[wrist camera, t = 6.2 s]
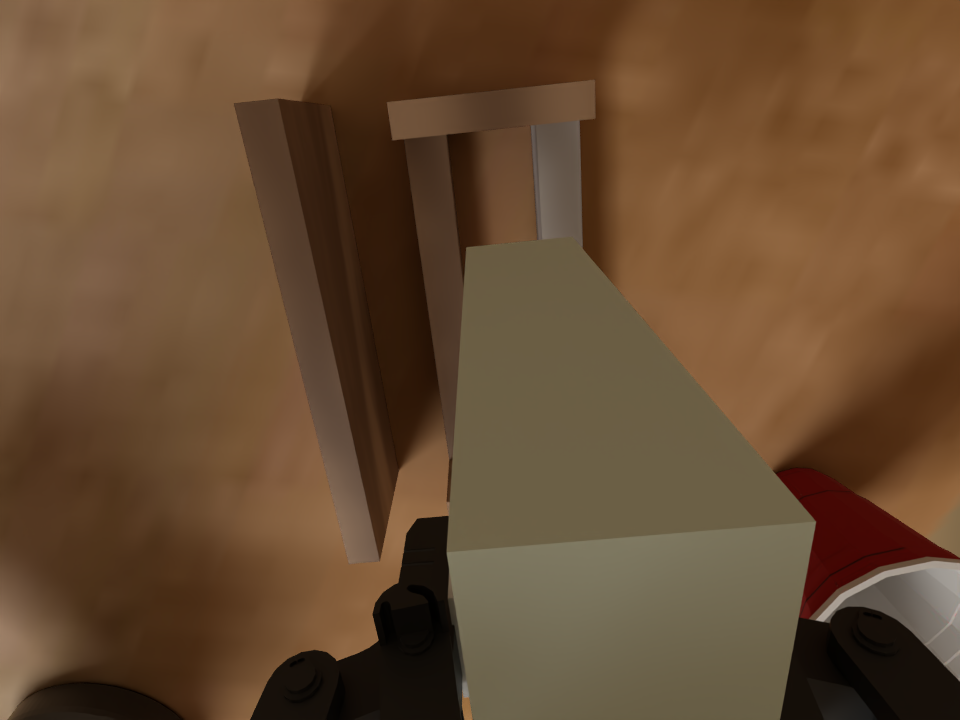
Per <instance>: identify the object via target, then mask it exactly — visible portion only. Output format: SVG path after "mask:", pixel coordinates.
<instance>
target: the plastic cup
mask: <svg viewBox="0 0 960 720" xmlns="http://www.w3.org/2000/svg"><path fill="white" fill-rule="evenodd" d="M776 475H777V476H778V478H779V479H780V480H781V481H782V482H783V483H784V485H785V486H786V487H787V488H788V489H789V490H790V492H791V493H792V494H793V495H794V496H795V497H796V499H797V500H798V501H799V502H800V503H801V504H802V506H803V507H804V508H805V509H806V510H807V511H808V513H809V514H810V515H811V516H812V517H813V518H814V520H815V521H816V525H815V531H814V536H813V542H812V547H811V553H810V558H809V564H808V569H807V574H806V580H805V585H804V591H803V596H802V602H801V607H800V613H799V617H800V618H806V619H811V620H817V621H822V622H827V623H830V620H831V618H832V616H833V615H834V614H835V612H836V611H837V610H840V609H842V608H845V607H848V606H852V607H866V608H870V609H874V610H878V611H881V612H883V613H885V614H887V615H889V616H891V617H893V618H895V619H897V620H898V621H899V622H900V623H902V624H903V625H904V626H905V627H907V628H908V629H909V630H910V631H911V632H912V633H913V634H914V635H915V636H916V637H917V638H918V639H919V640H920V641H921V642H922V643H923V644H924V645H925V646H926V647H927V648H928V649H929V650H930V651H931V652H932V653H933V654H934V655H935V656H936V657H937V658H938V659H939V660H940V661H941V662H942V663H943V665H944V666H945V667H946V668H947V669H948V670H949V671H950V672H951V673H952V674H953V675H954V676H955V677H956V678H957V679H958V680H959V681H960V558H959V557H957V556H956V555H954V554H952V553H951V552H949V551H947V550H945V549H942V548H941V547H939V546H937V545H936V544H934V543H933V542H931V541H930V540H928V539H927V538H925V537H924V536H922V535H921V534H919V533H918V532H916V531H914V530H913V529H911V528H910V527H908V526H907V525H905V524H904V523H902V522H901V521H899V520H898V519H896V518H895V517H893V516H892V515H890V514H889V513H887V512H886V511H884V510H882V509H881V508H879V507H878V506H876V505H875V504H873V503H872V502H870V501H869V500H867V499H865V498H863V497H861V496H859V495H857V494H855V493H854V492H852V491H851V490H849V489H848V488H846V487H845V486H843V485H842V484H841V483H839V482H838V481H836V480H835V479H833V478H831V477H829V476H827V475H825V474H822V473H820V472H818V471H816V470H813V469H807V468H793V469H789V470H786V471H782V472H778V473H777V474H776Z"/></svg>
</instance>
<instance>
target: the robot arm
mask: <svg viewBox="0 0 960 720" xmlns="http://www.w3.org/2000/svg"><path fill="white" fill-rule="evenodd" d="M448 522H449V516H442V517H430V518H419V519H417V520H416V521H415V523H414V524H413V525H412V527H411V528H410V530H409V531H408V532H407V535H406V541H405V547H404V553H403V559H402V567H401V571H400V577H399V583H398V584H395V585H393V586H392V587H390V588H389V589H387V590H386V591H385V592H383V593H382V595H381V596H380V597H379V599H378V600H377V602H376V603H375V607H374V611H373V618H374V622H375V626H376V631H377V635H378V639H379V641H378V642H376V643H375V644H374V645H372V646H371V647H370V648H368V649H366V650H364V651H362V652H360V653H357V654H355V655H352V656H349V657H347V658H344V659H341V660H339V661H336V659H335V658H334V657H332V656H331V655H330V654H329V653H327V652H323V651H318V650H312V651H306V652H301V653H299V654H297V655H295V656H293V657H291V658H289V659H287V660H286V661H285V662H284V663H283V664H281V665H280V666H279V667H278V668H277V669H276V670H275V671H274V673H273V674H272V676H271V677H270V679H269V680H268V682H267V684H266V686H265V688H264V691H263V693H262V695H261V697H260V699H259V701H258V704H257V706H256V708H255V710H254V712H253V715H252V717H251V719H250V720H464V716H463V710H462V689H463V695H464V697H469V692H468V685H467V679H466V673H465V666H464V660H463V654H462V647H461V641H460V635H459V628H458V622H457V616H456V609H455V603H454V596H453V590H452V584H451V577H450V571H449V565H448V558H447V538H448ZM8 720H181V719H180V718H179V717H178V716H177V715H176V714H174V713H173V712H172V711H170V710H169V709H167V708H166V707H164V706H163V705H161V704H159V703H158V702H156V701H154V700H152V699H150V698H147V697H145V696H143V695H140V694H138V693H135V692H132V691H129V690H125V689H121V688H117V687H112V686H107V685H99V684H66V685H60V686H55V687H50V688H47V689H44V690H41V691H39V692H37V693H35V694H33V695H31V696H29V697H28V698H26V699H25V700H24V701H23V702H22V703H21V704H20V705H19V706H18V707H17V708H16V709H15V711H14V712H13V713H12V715H11V716H10V717H9V718H8ZM780 720H960V681H959V680H958V679H957V678H956V677H955V676H954V675H953V674H952V673H951V672H950V671H949V670H948V669H947V668H946V667H945V666H944V665H943V663H942V662H941V661H940V660H939V659H938V658H937V657H936V656H935V655H934V654H933V653H932V652H931V651H930V650H929V649H928V648H927V647H926V646H925V645H924V644H923V643H922V642H921V641H920V640H919V639H918V638H917V637H916V636H915V635H914V634H913V633H912V632H911V631H910V630H909V629H908V628H907V627H905V626H904V625H903V624H902V623H900V622H899V621H898V620H897V619H895V618H893V617H891V616H889V615H887V614H885V613H883V612H881V611H878V610H874V609H870V608H866V607H852V606H848V607H845V608H842V609H840V610H837V611H836V612H835V614H834V615H833V616H832V618H831V620H830V623H827V622H822V621H817V620H811V619H806V618H800V617H799V618H798V624H797V629H796V635H795V640H794V646H793V651H792V656H791V662H790V667H789V673H788V678H787V684H786V689H785V695H784V700H783V706H782V711H781V717H780Z"/></svg>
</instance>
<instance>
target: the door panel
mask: <svg viewBox="0 0 960 720" xmlns="http://www.w3.org/2000/svg"><path fill="white" fill-rule="evenodd" d="M815 525H816V521H815V520H814V518H813V517H812V516H811V515H810V514H809V513H808V511H807V510H806V509H805V508H804V507H803V506H802V504H801V503H800V502H799V501H798V500H797V499H796V497H795V496H794V495H793V494H792V493H791V492H790V490H789V489H788V488H787V487H786V486H785V485H784V483H783V482H782V481H781V480H780V479H779V478H778V476H777V475H776V474H775V473H774V472H773V471H772V469H771V468H770V467H769V466H768V465H767V464H766V462H765V461H764V460H763V459H762V458H761V457H760V455H759V454H758V453H757V452H756V451H755V450H754V448H753V447H752V446H751V445H750V444H749V443H748V441H747V440H746V439H745V438H744V437H743V435H742V434H741V433H740V432H739V431H738V430H737V428H736V427H735V426H734V425H733V424H732V423H731V421H730V420H729V419H728V418H727V417H726V416H725V414H724V413H723V412H722V411H721V410H720V409H719V407H718V406H717V405H716V404H715V403H714V402H713V400H712V399H711V398H710V397H709V396H708V395H707V393H706V392H705V391H704V390H703V389H702V388H701V386H700V385H699V384H698V383H697V382H696V381H695V379H694V378H693V377H692V376H691V375H690V374H689V372H688V371H687V370H686V369H685V368H684V367H683V365H682V364H681V363H680V362H679V361H678V360H677V358H676V357H675V356H674V355H673V354H672V353H671V351H670V350H669V349H668V348H667V347H666V346H665V344H664V343H663V342H662V341H661V340H660V339H659V337H658V336H657V335H656V334H655V333H654V331H653V330H652V329H651V328H650V327H649V326H648V324H647V323H646V322H645V321H644V320H643V319H642V317H641V316H640V315H639V314H638V313H637V312H636V310H635V309H634V308H633V307H632V306H631V305H630V303H629V302H628V301H627V300H626V299H625V298H624V296H623V295H622V294H621V293H620V292H619V291H618V289H617V288H616V287H615V286H614V285H613V284H612V282H611V281H610V280H609V279H608V278H607V277H606V275H605V274H604V273H603V272H602V271H601V270H600V268H599V267H598V266H597V265H596V264H595V263H594V261H593V260H592V259H591V258H590V257H589V256H588V254H587V253H586V252H585V251H584V250H583V249H582V247H581V246H580V245H579V244H578V243H577V242H576V240H575V239H574V238H573V237H564V238H554V239H544V240H534V241H524V242H514V243H504V244H494V245H484V246H474V247H466V260H465V275H464V291H463V306H462V321H461V337H460V352H459V368H458V383H457V399H456V414H455V430H454V445H453V461H452V476H451V491H450V507H449V522H448V538H447V558H448V565H449V571H450V577H451V584H452V590H453V596H454V603H455V609H456V616H457V622H458V628H459V635H460V641H461V647H462V654H463V660H464V666H465V673H466V679H467V685H468V692H469V698H470V704H471V711H472V717H473V720H780V717H781V711H782V706H783V700H784V695H785V689H786V684H787V678H788V673H789V667H790V662H791V656H792V651H793V646H794V640H795V635H796V629H797V624H798V618H799V613H800V607H801V602H802V596H803V591H804V585H805V580H806V574H807V569H808V564H809V558H810V553H811V547H812V542H813V536H814V531H815Z"/></svg>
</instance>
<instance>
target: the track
mask: <svg viewBox="0 0 960 720" xmlns="http://www.w3.org/2000/svg"><path fill="white" fill-rule="evenodd" d="M234 106H235V110H236V114H237V118H238V122H239V126H240V130H241V134H242V138H243V142H244V146H245V150H246V154H247V158H248V162H249V166H250V170H251V174H252V178H253V182H254V186H255V190H256V194H257V198H258V202H259V206H260V210H261V214H262V218H263V222H264V226H265V230H266V234H267V238H268V242H269V246H270V250H271V254H272V258H273V262H274V266H275V270H276V274H277V278H278V282H279V286H280V290H281V294H282V298H283V302H284V306H285V310H286V314H287V318H288V322H289V326H290V330H291V334H292V338H293V342H294V346H295V350H296V354H297V358H298V362H299V366H300V370H301V374H302V378H303V382H304V386H305V390H306V394H307V398H308V402H309V406H310V410H311V414H312V418H313V422H314V426H315V430H316V434H317V438H318V442H319V446H320V450H321V454H322V458H323V462H324V466H325V470H326V474H327V478H328V482H329V486H330V490H331V494H332V498H333V502H334V506H335V510H336V514H337V518H338V522H339V526H340V530H341V534H342V538H343V542H344V546H345V550H346V554H347V558H348V562H349V564H354V563H366V562H377V561H380V558H381V553H382V548H383V543H384V538H385V534H386V529H387V524H388V519H389V515H390V510H391V505H392V500H393V496H394V491H395V486H396V481H397V476H398V472H399V470H398V465H397V460H396V454H395V449H394V444H393V438H392V433H391V428H390V422H389V417H388V411H387V406H386V401H385V395H384V390H383V385H382V379H381V374H380V369H379V363H378V358H377V353H376V347H375V342H374V337H373V331H372V326H371V321H370V315H369V310H368V305H367V299H366V294H365V289H364V283H363V278H362V273H361V267H360V262H359V257H358V251H357V246H356V240H355V235H354V230H353V224H352V219H351V214H350V208H349V203H348V198H347V192H346V187H345V182H344V176H343V171H342V166H341V160H340V155H339V150H338V144H337V139H336V134H335V128H334V123H333V118H332V112H331V107H330V106H329V105H322V104H314V103H307V102H299V101H291V100H284V99H270V100H261V101H252V102H242V103H234ZM387 107H388V114H389V121H390V127H391V134H392V140H400V139H404V144H405V151H406V158H407V165H408V172H409V179H410V186H411V193H412V200H413V207H414V215H415V222H416V229H417V236H418V243H419V250H420V257H421V264H422V271H423V278H424V285H425V292H426V299H427V306H428V313H429V320H430V327H431V334H432V341H433V348H434V355H435V362H436V369H437V376H438V383H439V391H440V398H441V405H442V412H443V419H444V426H445V433H446V440H447V447H448V454H449V473H448V488H447V508H448V515H449V507H450V491H451V476H452V461H453V445H454V430H455V414H456V399H457V383H458V368H459V352H460V337H461V321H462V306H463V291H464V275H463V266H462V257H461V248H460V240H459V231H458V222H457V213H456V204H455V195H454V186H453V177H452V168H451V159H450V151H449V142H448V134H456V133H466V132H475V131H485V130H494V129H503V128H513V127H522V126H531V138H532V156H533V173H534V191H535V209H536V226H537V240H544V239H554V238H564V237H573V238H574V239H575V240H576V242H577V243H578V244H579V245H580V246H581V247H582V249H583V239H582V197H581V156H580V120H588V119H596V118H595V80H587V81H578V82H569V83H560V84H550V85H541V86H532V87H523V88H514V89H504V90H495V91H486V92H477V93H467V94H458V95H449V96H440V97H430V98H421V99H412V100H403V101H393V102H387Z"/></svg>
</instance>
